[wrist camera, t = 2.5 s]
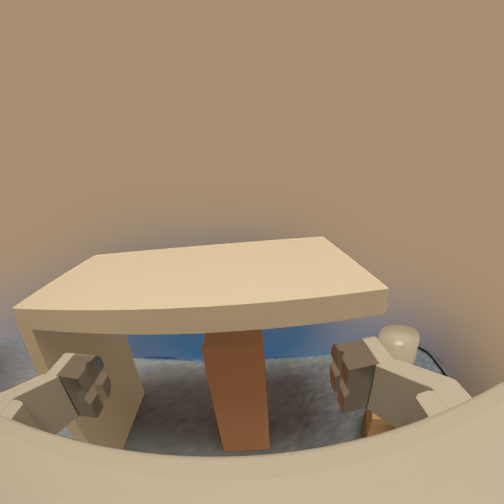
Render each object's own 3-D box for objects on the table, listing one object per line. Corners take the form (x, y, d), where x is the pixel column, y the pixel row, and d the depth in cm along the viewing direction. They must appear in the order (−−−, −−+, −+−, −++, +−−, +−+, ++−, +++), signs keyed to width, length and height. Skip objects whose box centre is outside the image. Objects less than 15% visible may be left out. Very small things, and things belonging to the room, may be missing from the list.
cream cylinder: (362, 406, 27) (374, 341, 25) (374, 383, 31) (385, 321, 29) (397, 415, 25) (416, 350, 23) (406, 391, 28) (422, 328, 26)
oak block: (360, 457, 21) (372, 419, 19) (362, 422, 25) (371, 381, 24) (409, 455, 19) (427, 416, 18) (406, 421, 24) (420, 381, 22)
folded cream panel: (348, 474, 19) (388, 288, 14) (100, 474, 19) (11, 308, 14) (318, 384, 32) (322, 236, 28) (134, 392, 32) (95, 255, 28)
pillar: (270, 448, 23) (263, 344, 20) (224, 451, 23) (201, 348, 20) (267, 418, 28) (260, 316, 24) (225, 420, 28) (207, 320, 24)
